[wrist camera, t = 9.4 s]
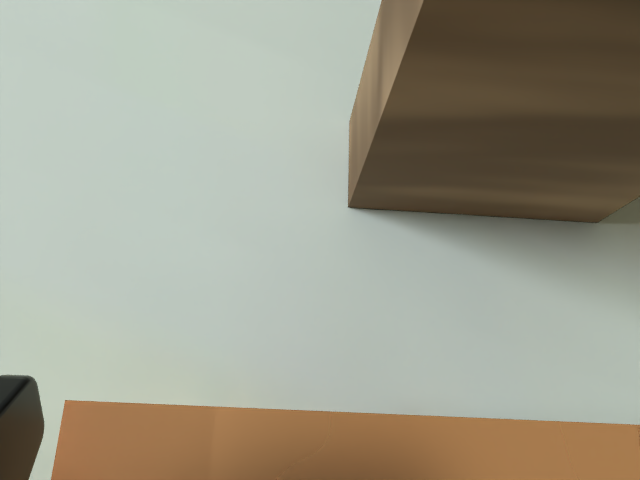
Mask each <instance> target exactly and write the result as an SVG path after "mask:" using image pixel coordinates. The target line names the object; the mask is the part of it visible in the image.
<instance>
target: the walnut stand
mask: <svg viewBox="0 0 640 480" xmlns="http://www.w3.org/2000/svg"><path fill="white" fill-rule="evenodd" d="M638 197H640V0H382V1H381V5H380V9H379V13H378V16H377V20H376V24H375V28H374V31H373V35H372V39H371V43H370V46H369V50H368V54H367V58H366V61H365V65H364V69H363V73H362V76H361V80H360V84H359V88H358V92H357V95H356V99H355V103H354V107H353V110H352V114H351V118H350V123H349V184H348V207H354V208H370V209H386V210H402V211H418V212H434V213H451V214H467V215H483V216H499V217H515V218H531V219H547V220H563V221H579V222H595V223H598V222H599V221H601V220H602V219H604V218H606V217H607V216H609V215H611V214H612V213H614V212H615V211H617V210H619V209H620V208H622V207H624V206H625V205H627V204H628V203H630V202H632V201H633V200H635V199H637V198H638Z"/></svg>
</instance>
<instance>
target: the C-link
mask: <svg viewBox="0 0 640 480" xmlns="http://www.w3.org/2000/svg"><path fill="white" fill-rule="evenodd" d="M51 480H640V425H630V424H606V423H583V422H560V421H537V420H513V419H490V418H467V417H444V416H420V415H397V414H374V413H351V412H327V411H304V410H281V409H258V408H234V407H211V406H188V405H165V404H141V403H118V402H95V401H72V400H65V404H64V410H63V416H62V421H61V427H60V433H59V438H58V444H57V449H56V455H55V461H54V466H53V472H52V477H51Z"/></svg>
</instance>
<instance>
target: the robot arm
mask: <svg viewBox="0 0 640 480" xmlns="http://www.w3.org/2000/svg"><path fill="white" fill-rule="evenodd" d="M43 434H44V418H43V413H42V407H41V402H40V396H39V391H38V386H37V383H36V381H35V379H34V378H33V377H31V376H24V375H1V376H0V480H29V477H30V474H31V471H32V468H33V465H34V462H35V459H36V456H37V453H38V451H39V448H40V445H41V442H42V438H43Z"/></svg>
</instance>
